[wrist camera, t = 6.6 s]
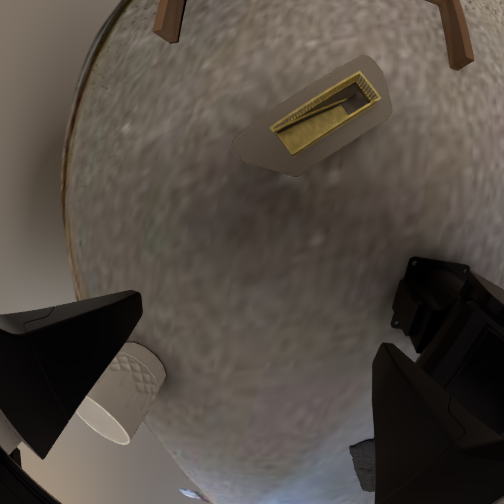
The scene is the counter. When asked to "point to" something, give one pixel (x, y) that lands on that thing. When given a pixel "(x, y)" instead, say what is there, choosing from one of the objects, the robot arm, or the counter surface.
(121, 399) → the white cup
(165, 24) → the frame
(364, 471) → the dark slate chunk
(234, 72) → the counter surface
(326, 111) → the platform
